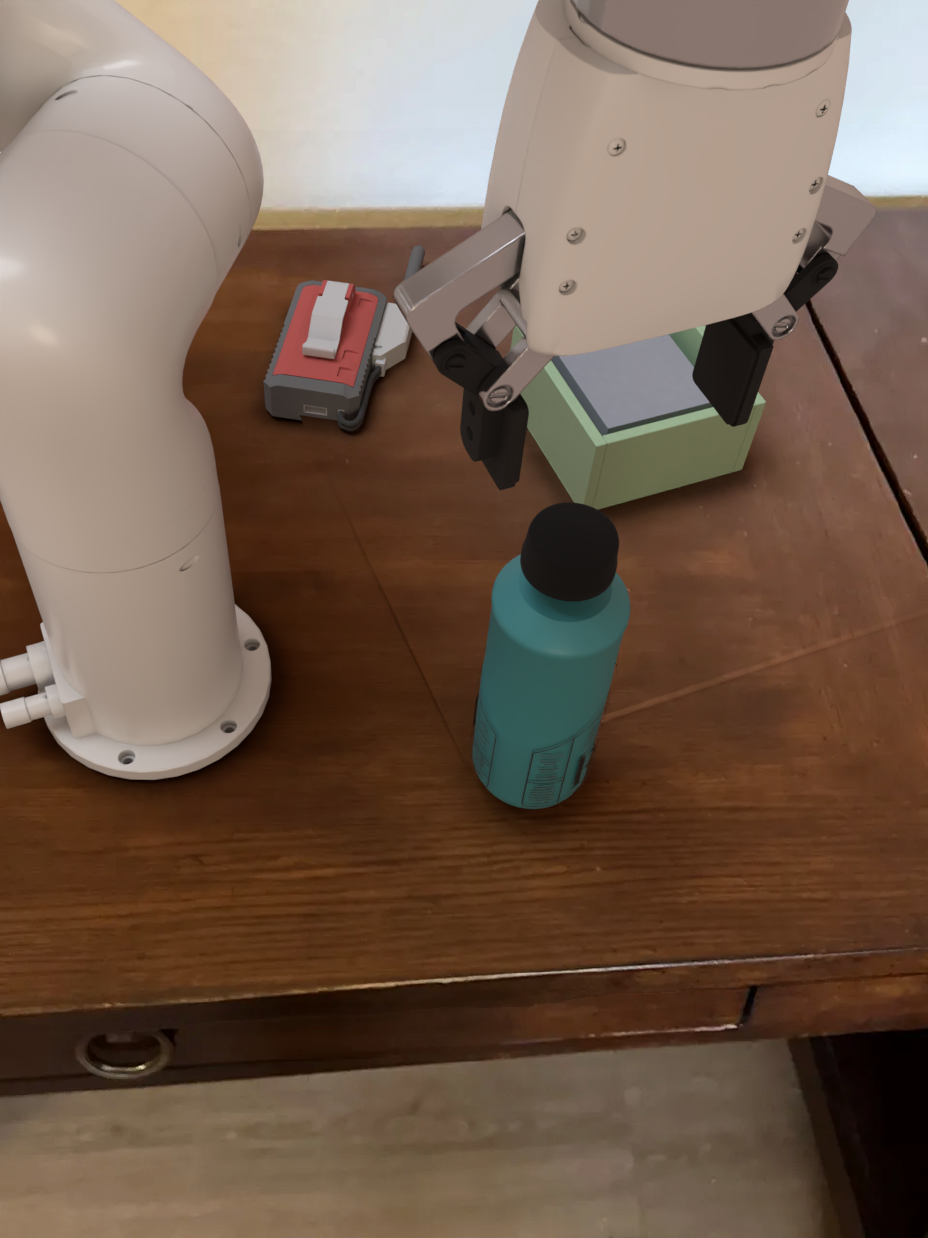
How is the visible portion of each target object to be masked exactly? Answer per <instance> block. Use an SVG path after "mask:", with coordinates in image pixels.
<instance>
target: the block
mask: <svg viewBox="0 0 928 1238" xmlns="http://www.w3.org/2000/svg"><path fill="white" fill-rule="evenodd" d="M551 361H552V362H553V364H554V365H555V367H556V368H557V370H558V371H559V373H560V374H561V376H562V377H563V379H564V380H565V382H566V383H567V385H568V386H569V388H570V389H571V391H572V392H573V394H574V395H575V397H576V398H577V400H578V401H579V403H580V404H581V406H582V407H583V409H584V410H585V412H586V413H587V415H588V416H589V418H590V419H591V421H592V422H593V424H594V425H595V427H596V428H597V430H598V431H599V433H600V434H601V436H603V435H607V434H611V433H615V432H618V431H622V430H626V429H630V428H634V427H638V426H642V425H646V424H649V423H653V422H657V421H661V420H665V419H669V418H673V417H677V416H681V415H684V414H688V413H692V412H696V411H700V410H704V409H708V408H712V407H713V406H712V405H711V404H710V402H709V401H708V400H707V398H706V397H705V396H704V394H703V393H702V392H701V391H700V389H699V388H698V387H697V385H696V384H695V383H694V381H693V377H692V373H693V369H694V367H693V365H692V364H691V363H690V362H689V360H688V359H687V358H686V356H685V355H684V354H683V352H682V351H681V350H680V348H679V347H678V346H677V345H676V343H675V342H674V341H673V339H672V338H671V337H670V335H669V334H668V335H664V336H659V337H655V338H651V339H647V340H642V341H638V342H634V343H630V344H626V345H621V346H617V347H612V348H608V349H603V350H599V351H594V352H589V353H584V354H578V355H568V356H554V357H553V358H552V360H551Z"/></svg>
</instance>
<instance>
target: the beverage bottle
mask: <svg viewBox="0 0 928 1238" xmlns="http://www.w3.org/2000/svg"><path fill="white" fill-rule="evenodd" d="M526 532H527V533H526V535H525V539H524V540H523V543H522V547H521V549H520V550H521V551H520V554H518V555H516V556H515V557H513V558H511V560H509V561H508V562H507V563H506V564H505V565H504V566H503V567H502V568H501V569H500V571H499V572H498V574H497V575H496V578H495V580H494V581H493V586H492V590H491V599H490V601H491V608H490V614H489V621H488V630H487V636H486V644H485V646H484V649H483V650H484V651H485V652H484V658H483V660H482V666H481V668H480V670H479V671H480V672H479V673H480V674H481V675H480V678H478V684H477V687H479V688H477V691H478V694H477V695H476V696H475V703H474V706H473V708H474V711H473V712H474V713H473V715H472V716H473V720H472V727H473V731H472V734H471V735H470V737H472V736H473V738H472V746H471V749H472V751H471V753H470V756H469V758H470V759H472V761H470V762H471V765H472V767H473V768H474V769H473V771H474V773H475V774H476V776H477V778H478V779H479V781H480V782H481V784H483V786H484V787H485V789H486V790H487V791H488V793H490V794H492V795H493V797H495V798H496V799H498V800H500V801H502V802H503V803H505V804H508V805H510V806H513V807H516V808H519V809H525V810H526V809H527V810H538V809H539V810H540V809H546V808H550V807H554V806H555V805H558V804H560V803H562V802H564V801H566V800H567V799H569V798H571V797H572V796H574V795H575V794H576V793H577V790H578V789H580V788H582V786H583V784H585V782H586V780H587V778H588V775H586V774H587V771H588V773H590V771H591V770H590V769H588V767H589V764H590V767H589V768H591V767H592V764H593V760H594V758H595V753H596V750H597V746H598V742H599V739H600V738H597V736H600V731H599V729H602V727H603V725H604V722H605V719H606V717H604V716H606V714H607V712H608V710H607V709H608V707H609V704H610V700H611V699H610V698H611V696H612V694H611V692H610V691H611V685H612V681H613V677H614V672H616V673H615V674H617V671H618V669H616V670H615V668H616V667H618V663H617V661H618V657H619V652H620V648H621V644H622V641H623V637H624V633H625V631H626V630H627V627H628V624H629V621H630V617H631V599H630V595H629V591H628V588H627V587H626V584H625V582H624V580H623V579H622V577H621V576H620V575H619V573H617V570H618V563H619V562H618V555H619V549H620V538H619V532H618V529H617V527H616V526H615V524H614V522H613V521H612V520H611V519H610V518H609V517H608V516H607V515H606V514H605V513H604V512H602V511H601V510H600V509H598V510H597V509H595V508H593V507H591V506H588V505H585V504H581V503H574V502H573V501H572V502H571V501H569V502H566V501H565V502H558V503H554V504H551V505H549V506H546V507H544V508H543V509H542V510H540V511H539V512H538V513H537V514H536V515H535V516H534V518H533V519H532V520H531V522H530V523H529V526H528V529H527V531H526ZM482 657H483V656H481V658H480V659H482ZM602 722H603V723H602ZM596 740H597V741H596Z"/></svg>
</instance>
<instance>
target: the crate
mask: <svg viewBox="0 0 928 1238" xmlns="http://www.w3.org/2000/svg"><path fill="white" fill-rule="evenodd" d="M705 327H706V325H704V326H700V327H696V328H692V329H688V330H684V331H680V332H676V333H672V334H669V335H670V337H671V338H672V339H673V341H674V342H675V343H676V345H677V346H678V347H679V348H680V350H681V351H682V352H683V354H684V355H685V356H686V358H687V359H688V360H689V362H690V363H691V364H692V365H693V367H694V366H695V362H696V359H697V355H698V352H699V348H700V345H701V341H702V338H703V334H704V330H705ZM522 337H524V336H523V334H522V333H521V331H520V330H519V328H518V327H517V326H516V327H515V328H514V329H513V330H512V336H511V341H510V342H511V343H510V350H511V349H512V348H513V347H514V346H515V345H516V343H517V342H518V341H519V340H520V339H521V338H522ZM520 394H521V395H522V397H523V399H524V400H525V402H526V403H527V406H528V409H529V417H528V424H527V429H528V432H530V434H531V436H532V437H533V439H534V441H535V443H536V444H537V445H538V447H539V449H540V450H541V452H542V453H543V455H544V456H545V458H546V460H547V461H548V463H549V465H550V467H552V469H553V471H554V473H555V474H556V476H557V477H558V479H559V480H560V483H561V484H562V485H563V487H564V489H565V490H566V492H567V493H568V495H569V497H570V498H571V500H572V502H573V503H581V504H585V505H588V506H591V507H593V508H595V509H597V510H602V509H605V508H609V507H612V506H617V505H619V504H624V503H627V502H630V501H634V500H637V499H641V498H645V497H649V496H652V495H657V494H659V493H663V492H666V491H670V490H674V489H677V488H681V487H685V486H688V485H689V486H690V485H692V484H695V483H699V482H703V481H706V480H710V479H714V478H717V477H722V476H723V475H728V474H731V473H732V474H733V473H735V472H739V471H742V470H743V468H744V465H745V462H746V460H747V457H748V455H749V452H750V448H751V446H752V444H753V443H752V442H753V440H754V437H755V435H756V432H757V429H758V427H759V423H760V421H761V418H762V415H763V413H764V410H765V407H766V404H767V401H766V400H765V399H764V397H763V396H762V395H761V393H760V392H759V391H758V394H757V397H756V400H755V403H754V405H753V408H752V411H751V414H750V417H749V420H748V422H747V423H746V424H743V425H739V426H735V427H732V426H730V425H728V424H726V423H725V422H724V420H723V419H722V418H721V417H720V415H719V414H718V413H717V411H716V410H715V409H714V407H712V408H708V409H704V410H700V411H696V412H692V413H688V414H684V415H681V416H677V417H673V418H669V419H665V420H661V421H657V422H653V423H649V424H646V425H642V426H638V427H634V428H630V429H626V430H622V431H618V432H615V433H611V434H607V435H603V436H601V434H600V433H599V431H598V430H597V428H596V427H595V425H594V424H593V422H592V421H591V419H590V418H589V416H588V415H587V413H586V412H585V410H584V409H583V407H582V406H581V404H580V403H579V401H578V400H577V398H576V397H575V395H574V394H573V392H572V391H571V389H570V388H569V386H568V385H567V383H566V382H565V380H564V379H563V377H562V376H561V374H560V373H559V371H558V370H557V368H556V367H555V365H554V364H553V362H552V361H550V362H549V363H548V364H547V365H546V366H545V367H544V368H543V369H542V370H541V372H540V373H539V374H538V375H537V376H536V377H535V378H534V379H533V380H532V381H531V382H530V383H529V385H528V386H527V387H526V388H525V389H524V390H523V391H522V392H521V393H520Z"/></svg>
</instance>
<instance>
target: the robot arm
mask: <svg viewBox="0 0 928 1238" xmlns="http://www.w3.org/2000/svg"><path fill="white" fill-rule="evenodd" d="M849 1H850V0H537V3H536V6H535V8H534V11H533V13H532V16H531V17H530V21H529V23H528V26H527V29H526V32H525V35H524V37H523V40H522V43H521V46H520V48H519V52H518V54H517V57H516V62H515V64H514V66H513V67H514V68H513V70H512V74H511V78H510V82H509V85H508V89H507V92H506V96H505V100H504V103H503V107H502V112H501V117H500V120H499V126H498V130H497V135H496V139H495V143H494V144H495V145H494V149H493V155H492V161H491V165H490V171H489V175H488V182H487V187H486V194H485V200H484V205H483V212H482V219H481V226H480V227H481V228H480V230H478V231H477V232H475V233H473V234H472V235H471V236H469V237H467V238H465V240H463V241H462V242H459V243H458V244H457V245H455V246H454V247H452V248H451V249H450V250H448V251H446V252H445V253H443V254H441V255H440V256H439V257H437V258H436V259H434V260H433V261H431V262H430V263H429V264H427V265H425V266H424V267H421V270H419V271H418V272H416V273H415V274H413V275H412V276H410V277H409V278H407V279H406V280H404V279H403V280H402V281H401V282H400V283H399V284H398V285H397V286H396V287H395V289H394V290H393V295H392V298H393V301H394V304H395V303H396V305H397V306H398V308H399V310H400V311H401V313H402V315H403V316H404V318H405V320H406V322H407V323H408V325H409V326H410V328H411V329H412V331H413V332H412V334H414V336H415V338H416V339H417V340H418V341H419V344H420V345H421V347H422V348H423V349H424V351H425V352H426V354H427V356H428V357H429V358H430V360H431V362H432V363H433V364H434V366H435V367H436V369H437V371H438V372H439V373H440V374H441V375H442V376H444V377H445V378H446V379H448V380H450V381H452V382H453V383H455V384H456V385H458V386H460V387H461V388H463V390H462V403H461V412H460V413H461V415H460V423H459V424H460V425H459V431H460V432H459V433H460V438H461V442H462V445H463V447H464V449H465V451H466V453H467V455H468V457H469V458H470V459H471V461H473V463H476V462H480V461H481V462H482V464H483V466H484V467H485V469H486V471H487V472H488V474H489V476H490V478H491V479H492V481H493V482H494V484H495V486H496V488H497V489H498V490H499V491H504V490H507V489H512V488H514V487H516V483H519V482H520V479H521V478H520V477H521V470H522V465H523V457H524V450H525V444H526V436H527V431H528V430H527V429H528V428H527V424H528V417H529V409H528V406H527V403H526V402H525V400H524V399H523V397H522V395H521V394H520V393H521V392H522V391H523V390H524V389H525V388H526V387H527V386H528V385H529V383H530V382H531V381H532V380H533V379H534V378H535V377H536V376H537V375H538V374H539V373H540V372H541V370H542V369H543V368H544V367H545V366H546V365H547V364H548V363H549V362H550V361H551V360H552V358H553V357H554V356H568V355H578V354H584V353H589V352H594V351H599V350H603V349H608V348H612V347H617V346H621V345H626V344H630V343H634V342H638V341H642V340H647V339H651V338H655V337H659V336H664V335H668V334H672V333H676V332H680V331H684V330H688V329H692V328H696V327H700V326H704V325H705V326H706V327H705V330H704V334H703V338H702V341H701V345H700V348H699V352H698V355H697V359H696V362H695V366H694V369H693V373H692V377H693V381H694V383H695V384H696V385H697V387H698V388H699V389H700V391H701V392H702V393H703V394H704V396H705V397H706V398H707V400H708V401H709V402H710V404H711V405H712V406H713V407H714V409H715V410H716V411H717V413H718V414H719V415H720V417H721V418H722V419H723V420H724V422H725V423H726V424H728V425H730V426H732V427H735V426H739V425H743V424H746V423H747V422H748V420H749V417H750V414H751V411H752V408H753V405H754V403H755V400H756V397H757V394H758V392H759V391H760V388H761V385H762V382H763V379H764V376H765V373H766V371H767V368H768V365H769V361H770V359H771V356H772V353H773V350H774V343H775V341H780V340H783V339H785V338H787V337H789V335H791V334H792V333H793V332H794V331H795V330H796V328H797V327H798V325H799V321H800V317H799V314H798V311H799V310H800V309H801V308H803V306H804V305H806V304H807V303H808V302H809V301H810V300H811V299H812V298H814V297H815V295H817V294H818V293H819V292H820V291H821V290H822V289H823V288H824V287H826V286H827V285H828V284H829V283H830V282H831V281H832V280H833V279H834V278H835V276H836V275H837V273H838V270H839V262H838V260H839V259H840V257H846V255H847V253H848V252H849V251H850V250H851V249H852V247H853V246H854V245H855V244H856V242H857V241H858V240H859V239H860V238H861V236H862V235H863V234H864V232H865V231H866V230H867V228H868V227H870V225H871V223H873V221H874V219H875V218H876V214H877V207H876V206H875V205H874V204H873V203H872V202H871V201H870V200H869V199H868V198H867V197H866V196H865V195H864V194H863V193H862V192H861V191H860V190H859V189H858V188H857V187H855V186H854V185H852V184H850V183H848V182H845V181H843V180H841V179H839V178H836V177H834V176H832V175H829V171H830V169H831V164H832V159H833V155H834V150H835V145H836V142H837V137H838V133H839V127H840V121H841V117H842V111H843V110H842V109H843V107H844V100H845V94H846V86H847V80H848V72H849V66H850V65H849V64H850V58H851V57H850V56H851V46H852V45H851V43H852V35H853V33H852V32H853V27H852V23H851V20H850V18H849V15H848V14H847V8H848V4H849ZM248 125H249V124H247V122H246V120H245V119H244V117H243V115H242V114H241V112H240V111H239V110H238V108H237V107H236V105H235V104H234V102H233V101H232V100H231V99H230V98H229V97H228V96H227V95H226V94H225V93H224V91H223V90H222V89H220V87H219V86H218V85H217V84H216V82H214V81H213V80H212V79H211V78H210V77H209V76H208V75H206V73H205V72H203V70H201V69H200V67H198V66H197V65H195V64H194V63H193V62H192V61H191V60H190V59H189V58H187V56H185V55H184V54H183V53H181V52H180V51H179V50H178V49H177V48H175V47H174V46H173V45H172V44H171V43H169V42H168V41H166V40H165V39H164V38H163V37H161V35H159V34H158V33H156V32H155V31H154V30H152V29H151V28H150V27H149V26H147V25H146V24H145V23H143V22H142V21H141V20H140V19H139V18H138V17H136V16H135V15H134V14H132V12H130V11H129V10H128V9H126V8H125V7H123V6H122V5H121V4H120V3H118V2H117V1H116V0H0V503H1V506H2V509H3V512H4V515H5V518H6V521H7V523H8V526H9V528H10V530H11V533H12V535H13V538H14V542H15V544H16V548H17V551H18V554H19V557H20V559H21V562H22V565H23V568H24V571H25V574H26V576H27V580H28V582H29V585H30V588H31V591H32V594H33V597H34V600H35V603H36V606H37V609H38V611H39V614H40V617H41V620H42V622H41V623H40V624H39V626H40V630H41V634H42V638H43V641H39V642H37V643H32V644H29V645H26V646H25V649H26V652H25V653H22V654H18V655H14V656H11V657H7V658H3V659H0V697H1V696H5V695H8V694H10V693H11V692H12V691H16V690H20V689H23V688H27V687H30V686H34V685H36V686H37V694H34V695H30V696H26V697H25V696H22V697H18V698H14V699H12V700H7V701H4V702H1V703H0V713H1V718H2V720H3V723H4V726H5V728H6V729H7V730H9V729H12V728H16V727H19V726H23V725H26V724H29V723H32V721H34V720H38V719H42V718H44V722H45V724H46V727H47V728H48V730H49V732H50V733H51V735H52V736H53V739H54V740H55V742H56V743H57V744H58V745H59V746H60V747H61V748H62V749H63V750H64V751H65V752H66V753H67V754H68V755H69V756H70V757H71V758H73V759H74V760H76V761H77V762H78V763H80V764H82V765H84V766H85V767H86V768H88V769H91V770H93V771H96V772H99V773H100V774H101V773H102V774H104V775H107V776H110V777H114V778H115V777H116V778H120V779H125V780H135V781H136V780H142V781H143V780H144V781H145V780H146V781H157V780H163V779H168V778H169V779H170V778H175V777H179V776H183V775H186V774H190V773H192V772H193V773H194V772H196V771H199V770H201V769H203V768H205V767H207V766H210V765H211V764H213V763H214V762H217V761H219V760H220V759H222V758H223V757H225V756H226V755H228V754H229V753H230V752H231V751H233V750H234V749H235V748H237V747H238V746H239V745H240V744H241V743H242V742H243V741H244V740H245V739H246V738H247V737H248V736H249V734H251V732H252V731H253V730H254V728H255V726H256V725H257V723H258V722H259V720H260V719H261V718H262V716H263V714H264V711H265V709H266V706H267V703H268V701H269V698H270V692H271V686H272V664H271V663H272V662H271V657H270V652H269V648H268V644H267V641H266V640H265V637H264V635H263V633H262V632H261V629H260V628H259V627H258V625H257V624H256V623H255V622H254V620H253V619H252V618H251V617H250V615H249V614H248V613H246V612H245V611H244V610H243V609H242V608H241V607H239V606H238V605H237V604H236V602H235V596H234V589H233V580H232V573H231V566H230V557H229V550H228V542H227V541H228V540H227V535H226V533H227V532H226V528H225V526H226V525H225V519H224V512H223V511H224V510H223V503H222V497H221V496H222V495H221V489H220V483H219V478H218V471H217V463H216V457H215V451H214V446H213V442H212V438H211V434H210V431H209V428H208V426H207V423H206V421H205V419H204V417H203V415H202V414H201V413H200V411H199V409H198V408H197V407H196V406H195V405H194V404H193V403H192V402H191V401H190V400H188V399H187V397H186V396H185V393H184V387H183V378H184V377H183V376H184V369H185V364H186V359H187V356H188V352H189V350H190V347H191V345H192V342H193V340H194V338H195V336H196V334H197V332H198V330H199V328H200V327H201V324H202V322H203V321H204V319H205V318H206V316H207V314H208V312H209V310H210V309H211V307H212V305H213V302H214V300H215V297H216V295H217V294H218V291H219V290H220V288H221V286H222V284H223V282H224V281H225V279H226V277H227V275H228V274H229V272H230V271H231V269H232V267H233V265H234V263H235V261H236V260H237V258H238V256H239V255H240V253H241V251H242V249H243V247H244V246H245V244H246V242H247V240H248V238H249V236H250V234H251V232H252V230H253V227H254V225H255V224H256V221H257V219H258V216H259V213H260V210H261V207H262V201H263V196H264V188H265V179H264V168H263V167H264V166H263V162H262V156H261V154H260V150H259V147H258V145H257V141H256V140H255V137H254V135H253V132H252V131H251V128H250V127H249V126H248ZM496 288H499V290H497V291H496V293H495V294H494V295H493V296H492V298H490V299H489V301H487V303H486V305H485V306H484V307H483V308H482V309H481V310H480V311H479V313H477V315H476V316H475V317H474V318H473V319H472V320H471V322H470V323H469V324H468V325H467V326H466V328H465V327H464V326H462V325H461V324H460V323H458V322H457V317H458V316H459V314H460V313H461V312H462V311H463V310H465V309H466V308H467V307H469V306H471V305H472V304H473V303H475V302H476V301H479V300H480V299H481V298H483V297H484V296H486V295H487V294H489V293H491V292H493V291H494V290H495V289H496ZM516 326H517V327H518V328H519V330H520V331H521V333H522V334H523V336H524V337H522V338H521V339H520V340H519V341H518V342H517V343H516V345H515V346H514V347H513V348H512V349H511V348H510V350H509V351H508V352H507V353H506V354H505V355H504V357H503V356H502V354H501V353H500V351H499V350H498V349H497V348H498V347H499V346H500V345H501V344H502V342H503V341H504V340H505V339H506V338H507V337H508V336H509V335H510V334H511V332H513V329H514V328H515V327H516Z"/></svg>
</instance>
